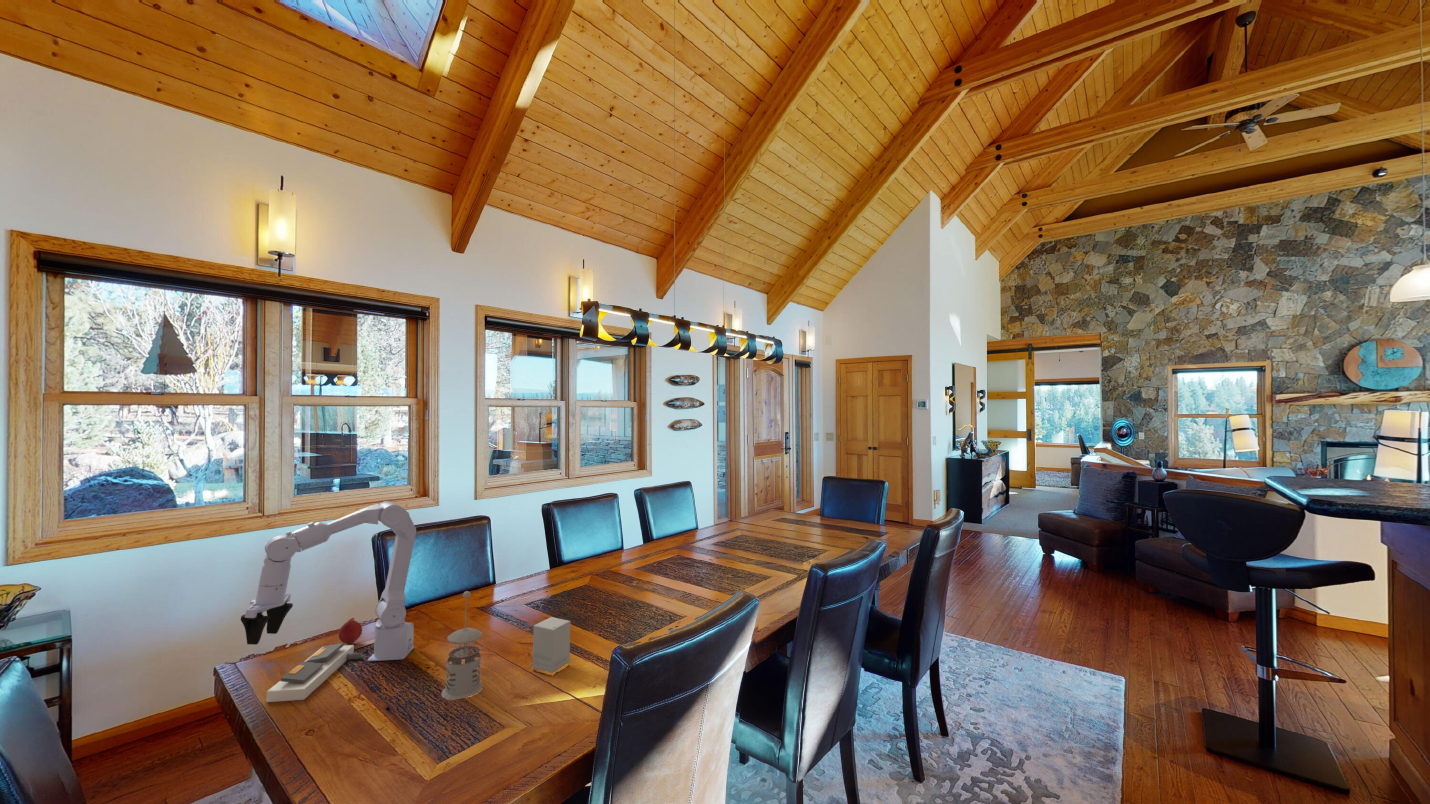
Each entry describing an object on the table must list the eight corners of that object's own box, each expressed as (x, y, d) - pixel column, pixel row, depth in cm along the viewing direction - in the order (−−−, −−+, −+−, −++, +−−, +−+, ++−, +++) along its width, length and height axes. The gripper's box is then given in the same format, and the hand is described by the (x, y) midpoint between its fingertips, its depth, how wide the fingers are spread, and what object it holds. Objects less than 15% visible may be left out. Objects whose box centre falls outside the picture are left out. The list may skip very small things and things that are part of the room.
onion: (349, 649, 154) (350, 622, 155) (333, 647, 156) (334, 620, 156) (366, 641, 160) (367, 615, 160) (350, 639, 161) (351, 613, 162)
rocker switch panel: (366, 653, 152) (367, 644, 153) (320, 698, 128) (320, 687, 128) (322, 655, 150) (322, 646, 150) (266, 702, 126) (266, 691, 126)
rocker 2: (344, 645, 149) (343, 641, 149) (327, 659, 140) (326, 656, 140) (324, 649, 148) (324, 646, 148) (306, 664, 139) (305, 660, 139)
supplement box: (570, 665, 148) (571, 620, 149) (551, 677, 141) (553, 629, 142) (550, 660, 151) (551, 615, 152) (531, 671, 144) (532, 624, 145)
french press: (440, 703, 127) (445, 600, 128) (441, 682, 137) (445, 586, 138) (485, 695, 131) (489, 594, 132) (481, 674, 142) (485, 581, 143)
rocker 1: (322, 666, 138) (323, 662, 138) (303, 683, 129) (304, 679, 130) (301, 664, 137) (302, 660, 137) (280, 681, 129) (281, 677, 129)
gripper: (273, 576, 141) (263, 628, 139) (235, 590, 127) (224, 648, 125) (302, 577, 142) (292, 629, 141) (268, 591, 128) (257, 649, 127)
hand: (262, 638), depth 133 cm, fingers open, 7 cm apart
